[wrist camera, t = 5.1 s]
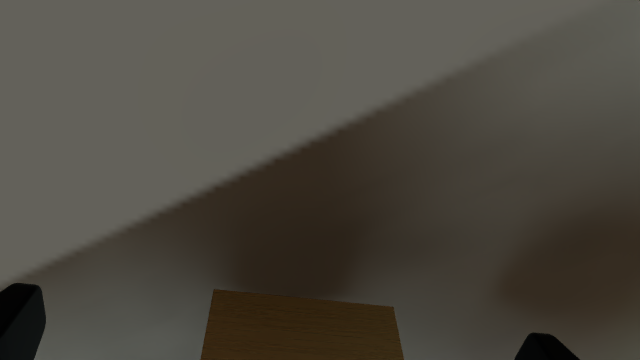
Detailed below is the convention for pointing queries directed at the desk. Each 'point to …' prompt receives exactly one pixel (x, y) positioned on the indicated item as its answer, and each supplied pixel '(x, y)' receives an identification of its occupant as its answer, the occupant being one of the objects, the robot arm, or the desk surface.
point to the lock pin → (298, 329)
